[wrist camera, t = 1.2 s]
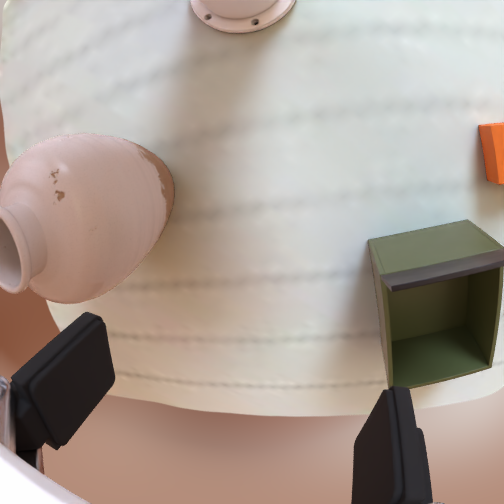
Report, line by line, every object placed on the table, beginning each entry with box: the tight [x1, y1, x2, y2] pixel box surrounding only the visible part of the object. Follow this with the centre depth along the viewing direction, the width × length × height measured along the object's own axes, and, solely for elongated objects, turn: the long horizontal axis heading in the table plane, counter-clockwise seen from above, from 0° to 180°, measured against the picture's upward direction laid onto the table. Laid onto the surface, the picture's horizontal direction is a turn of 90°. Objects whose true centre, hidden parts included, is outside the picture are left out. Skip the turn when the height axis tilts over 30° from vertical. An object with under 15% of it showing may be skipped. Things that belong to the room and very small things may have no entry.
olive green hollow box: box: [368, 220, 504, 389], centre depth 31 cm, size 15×13×10 cm
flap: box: [381, 248, 504, 292], centre depth 20 cm, size 7×13×1 cm
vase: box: [0, 133, 174, 304], centre depth 29 cm, size 16×16×23 cm
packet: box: [479, 123, 504, 185], centre depth 26 cm, size 6×4×3 cm
